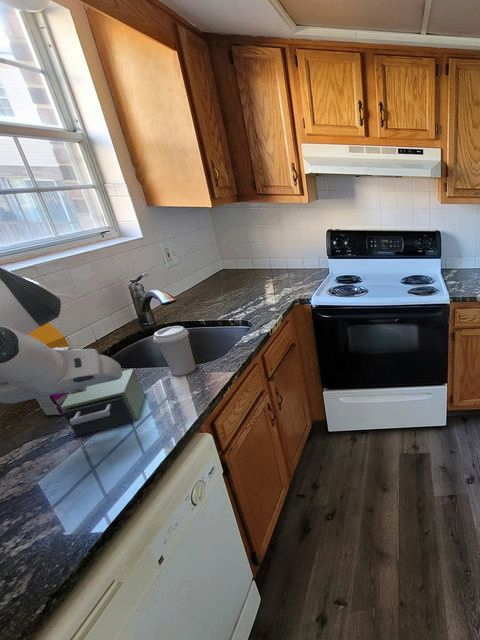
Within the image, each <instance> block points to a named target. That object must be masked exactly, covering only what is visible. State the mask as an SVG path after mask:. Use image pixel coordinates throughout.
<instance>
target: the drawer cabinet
mask: <svg viewBox="0 0 480 640" xmlns="http://www.w3.org/2000/svg"><path fill="white" fill-rule="evenodd" d="M121 395H122V397H123V399H124V401H125V403H126V405H127V407H128V409H129V411H130V413H131V415H132V417H133V420H132V421H131V422H135V421H138V419H139V416H140V413H141V409H142V406H143V403H144V399H145V396H146V393H145V391H144V389H143V387H142V384H141V383H140V380H139V377H138V375H137V374H136V371H135V369H134V368H130V369H127V370H122V377H121V378H120V379H118V380H114V381H109V382H105V383H101V384H96V385H92V386H87V391H83V392H79V393H75V394H69V395H68V396H67V398H66V399H65V401H64V403H63V404H62V406H61V407H60V408H61V409H62V411H63V413H64V411H65V410H70V409H71V408H72V407H76V406H80V405H84V404H88V403H92V402H96V401H100V400H104V399H108V398H112V397H116V396H121ZM126 423H128V422H126ZM126 423H125V424H126ZM115 426H117V425H115ZM115 426H114V427H115Z"/></svg>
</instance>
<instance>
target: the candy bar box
mask: <svg viewBox="0 0 480 640" xmlns="http://www.w3.org/2000/svg"><path fill="white" fill-rule="evenodd" d="M53 349H54V350H72V348H71V346H70V347H55V348H53ZM68 395H69V393H57V394H52V395H48V396H44V397H39V398H35V400H36V402H37V403H38V404H39V406H40V408H41V409H42V411H43V412H44V414H45V415H46V416H64V414H63V411H62V409H61V408H60V407H61V406H62V404H63V403H64V401H65V399H66V398H67V396H68Z"/></svg>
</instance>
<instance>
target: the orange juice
mask: <svg viewBox="0 0 480 640" xmlns="http://www.w3.org/2000/svg"><path fill="white" fill-rule="evenodd" d="M28 335H29V336H31V337H34V338H35V339H37V340H39V341H41V342H43V343H44V344H45V345H47V346H48V347H49V348H51V349H53V348H55V347H70V348H71V346H70V345H69V342H68V340H67V339H66V337H65V336H64V335H63V334H62V333H61V332H60V331H59V330H58V329H56V327H54V325H52V324H51V323H50V322H49V323H47V324H45V325H43V326H40V327H38V328H37V329H35V330H34V331H33V332H31V333H30V334H28Z"/></svg>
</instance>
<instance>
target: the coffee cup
mask: <svg viewBox="0 0 480 640" xmlns="http://www.w3.org/2000/svg"><path fill="white" fill-rule="evenodd" d="M189 335H190V332H189V331H188V330H187V329H186V328H185V327H184V326H181V325H173V326H167V327H164V328H161V329H159V330H157V331H155V332H154V333H153V339H152V341H153V343H156V345H157V347H158V348H159V350H160V352H161V354H162V357H163V358H164V359H165V362H166V363H167V365H168V367H169V368H170V371H171V372H172V374H173V375H174V376H185V375H188V374H191V373H193V372H194V371H196V368H197V367H196V366H197V365H196V363H195V359H194V354H193V350H192V348H191V347H192V346H191V344H190V339H189Z"/></svg>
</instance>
